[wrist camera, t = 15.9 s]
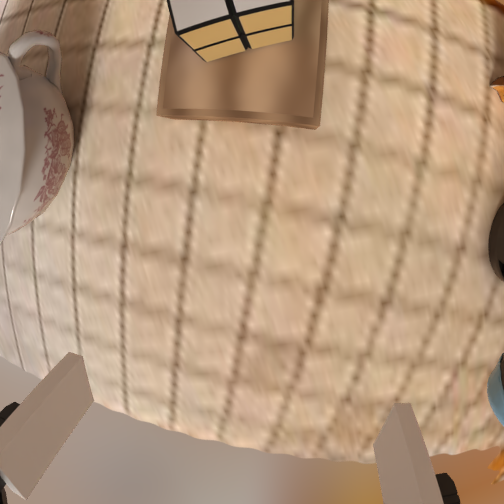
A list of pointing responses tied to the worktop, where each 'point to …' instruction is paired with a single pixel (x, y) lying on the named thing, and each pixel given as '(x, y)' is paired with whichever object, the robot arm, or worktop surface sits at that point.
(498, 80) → the pancake mix bag
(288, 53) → the block
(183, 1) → the puzzle cube
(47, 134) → the chamber pot
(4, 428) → the robot arm
